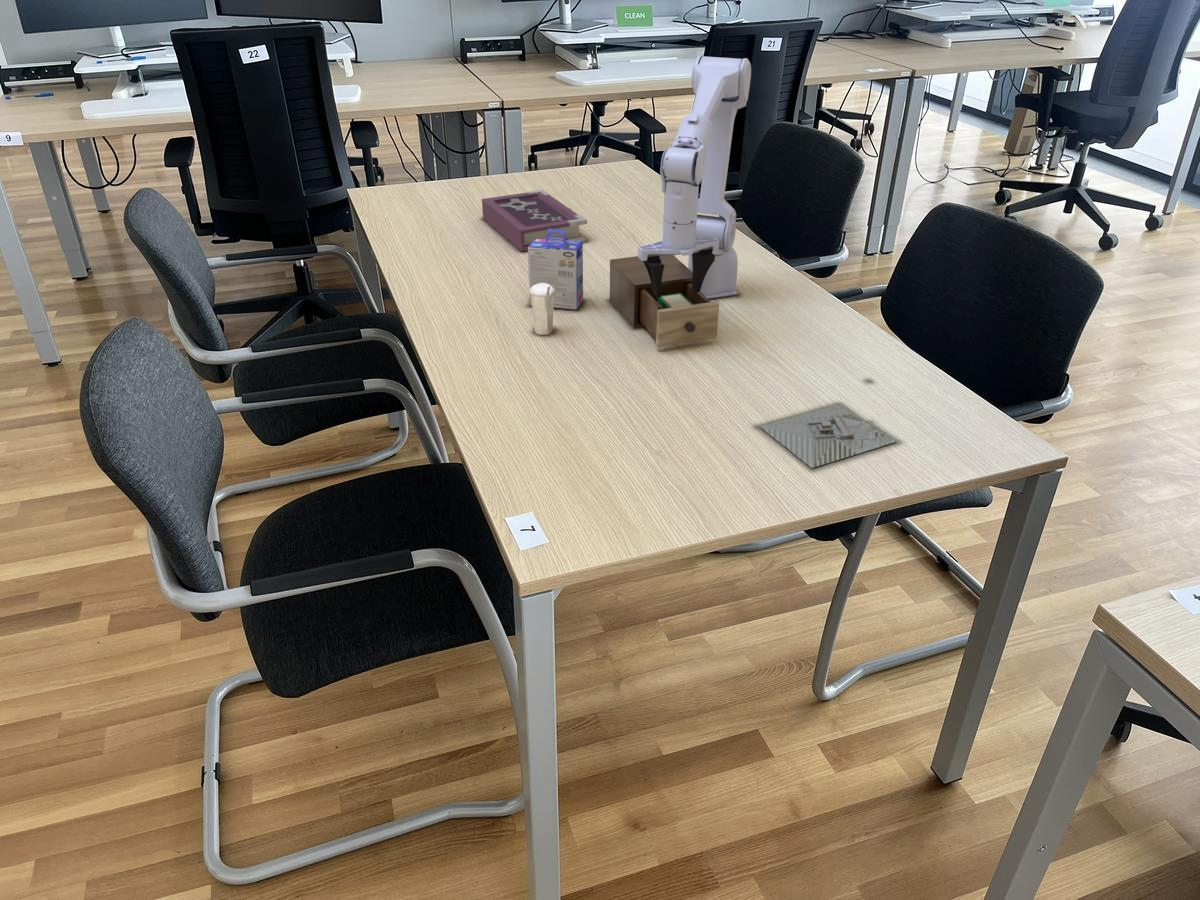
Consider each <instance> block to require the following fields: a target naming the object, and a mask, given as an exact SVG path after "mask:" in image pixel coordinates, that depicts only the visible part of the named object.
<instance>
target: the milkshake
mask: <svg viewBox="0 0 1200 900" xmlns="http://www.w3.org/2000/svg"><path fill="white" fill-rule="evenodd" d="M554 295H555V289H554V288H553V287H552V286H551V285H549V284H546V283H539V284H535V285H534V286H532V287H531V288H530V293H529V298H530V297H531V304H532V306H531V310H532V311H531V312H532V319H533V320H532V321H533V329H534V332H535V333H536V334H537V335H540V336H546V335H549V334H551V333H552V332H553V327H554Z"/></svg>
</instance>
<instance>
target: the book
mask: <svg viewBox="0 0 1200 900" xmlns="http://www.w3.org/2000/svg"><path fill="white" fill-rule="evenodd" d="M481 208H482V219H483V220H484V221H485V222H486V223H487V224H489V225H490V226H491V227H492V228H494V230H495V231H497V233H499V234H500V235H502V236H503V237H504V238H505V239H506V240H507V241H509V242H510V243H511V244H512V245H513V246H514V247H515V248H516V249H518V250H519V252H521V253H523V252H528V247H529V245H530V244H531V243H532V242H533V241H534V240H535V239H546V238H547V233H548V229H561V230H566V238H565V240H567V241H582V243H584V242H586V241H587V240H586V236H585V235H583V234H582V233H580V226H583V225H588V219H586V218H585V217H584V216H582V215H580V214H578V213H576V212H575V211H573V210H572V209H571V208H569V207H568V206H566V205H565V204H564V203H562V202H561V201H559V200H558V199H557V198H555V197H554V196H552V195H551V194H550V193H549V192H548V191H546V190H544V189H539V190H531V191H527V192H521V193H514V194H508V195H507V194H506V195H501V196H494V197H487V198H485V197H484V198H481ZM550 236H551V237H560V238H561V237H563V235H562V234H559V233H552V234H550Z"/></svg>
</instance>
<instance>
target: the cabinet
mask: <svg viewBox="0 0 1200 900" xmlns="http://www.w3.org/2000/svg"><path fill="white" fill-rule="evenodd" d="M660 260H661V263H662V264H663V265H664V270H663V275H662V283H661V286H662V285H670V284H677V283H685V282H690V283H692V274H693V272H692V271H691V270H690V269H688V266H686V264H684V263H683V262H681V260H680V259H679V258H678V257H676V255H673V256H665V257H660ZM647 287H652V284H651V280H650V277H649V274H648V271H647V269H646V267H645V264H644V262H643V261H642V260H640V259H639V258H638V255H636V256H628V257H620V258H612V259H609V302H610V303H611V304H612V305H613V306H614V308H615V309H616V310H617V311H618V312H619V313H620V314H621V315H622V317H623V318H624V319H625V320H626V321H627V323H629V325H630V326H631V327H632V328H633V329H638V328H639V329H640V328H646V327H645V326H644V325H643V324H642V323H641V322H640V321H639V319H638V290H639V289H640V288H647Z"/></svg>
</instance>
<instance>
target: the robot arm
mask: <svg viewBox="0 0 1200 900" xmlns="http://www.w3.org/2000/svg"><path fill="white" fill-rule="evenodd" d="M691 68H692V69H691V75H690V77H691V78H690V80H691V87H692V89H693V94H695V96H694V101H693V105H692V108H691V113H689V114H687V115H684V117H683V118H682V119H681V122H680V124H679V127H678V130H677V132H676V135H675V137H674V140H673V142H672V145H671V146H670V147H669V148H668V149H667V148H666V149H664V151H663V153H662V155H661V161H660V170H659V173H660V179H661V190H662V191H661V193H663V194H664V195H663V196H664V197H663V220H662V221H663V225H662V240H659V241H655V242H652V243H650V244H646V245H641V246H638V247H637V256H638V258H639V259H640V260H642V261H643V262H644V264H645V267H646V269H647V271H648V274H649V277H650V280H651V284H652V290H653V294H654V295H655V297H656V298H660V297H661V283H662V275H663V270H664V265H663V264H662V263H661V260H660V257H665V256H673V255H674V256H679V255H680V256H685V257H686V256H688V259H687V260H688V261H687V268H688V269H690V270H691V271H692V272H693V274H692V289H694V290H695V291H696V292H701V293H703V294H704V295H705V296H706V297H707V298H708V299H709V300H710V299H715V298H723V297H730V296H731V297H732V296H736V295H737V294H738V291H737V280H738V279H737V278H738V267H739V260H738V254H737V251H736V249H735V248H734V247H733V246H734V244H735V243H734V242H735V238H736V233H737V223H736V222H737V212H736V210H735V208H733V206H732V205H731V204H730V203H729V202H728V201H727V200H725V195H726V194H725V193H726V187H727V177H728V169H729V162H730V155H731V147H732V139H733V132H734V123H735V120H736V119H735V118H736V115H737V112H738V110H740V109H742V108H745V107H747V102H748V100H749V94H750V86H751V79H752V64H751V62H750V60H749V59H748V58H747V57H745V58H744V57H743V58H733V57H717V56H704V55H702V54H701V55H699V54H698V56H697V57H696V58H694V61H693V63H692V67H691ZM700 185H701V187H700ZM699 187H700V189H699ZM699 190H700V194H699ZM704 214H705V215H704ZM713 215H715V216H713Z"/></svg>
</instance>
